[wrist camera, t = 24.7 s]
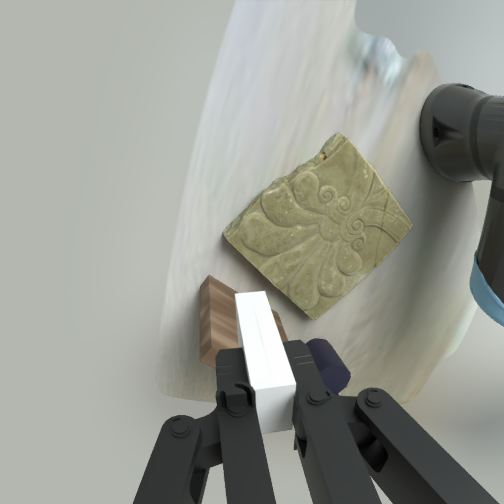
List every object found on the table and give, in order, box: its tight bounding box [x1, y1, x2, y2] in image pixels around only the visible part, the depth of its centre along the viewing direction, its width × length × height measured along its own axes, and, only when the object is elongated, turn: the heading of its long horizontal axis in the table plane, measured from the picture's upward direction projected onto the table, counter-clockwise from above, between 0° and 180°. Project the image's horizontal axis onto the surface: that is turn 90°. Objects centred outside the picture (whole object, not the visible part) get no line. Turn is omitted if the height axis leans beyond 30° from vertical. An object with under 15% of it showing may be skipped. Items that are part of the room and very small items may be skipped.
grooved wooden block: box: [200, 275, 288, 368], centre depth 37 cm, size 3×12×16 cm, turn 52°
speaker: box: [306, 338, 351, 395], centre depth 45 cm, size 8×6×10 cm
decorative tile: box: [223, 132, 413, 320], centre depth 40 cm, size 19×20×4 cm
